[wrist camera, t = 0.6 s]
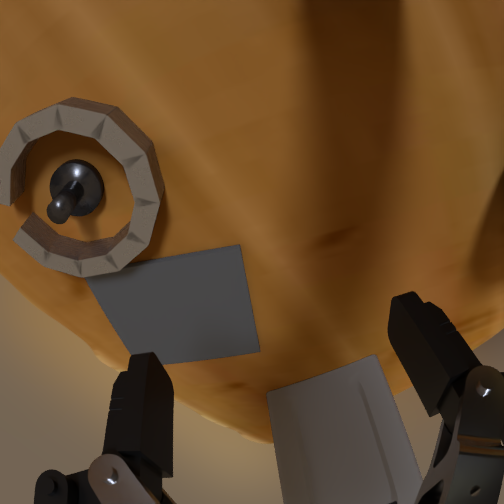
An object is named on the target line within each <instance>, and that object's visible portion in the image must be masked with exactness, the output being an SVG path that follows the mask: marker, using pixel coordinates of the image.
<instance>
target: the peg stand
mask: <svg viewBox="0 0 504 504" xmlns="http://www.w3.org/2000/svg"><path fill="white" fill-rule="evenodd" d="M103 192H104V184H103V180H102V177H101V175H100V173H99V172H98V170H97V169H96V168H95V167H94V166H93V165H91V164H90V163H88V162H86V161H83V160H78V159H75V160H69V161H67V162H65V163H63V164H62V165H61V166H60V167H59V168H58V169H57V170H56V171H55V172H54V174H53V175H52V177H51V181H50V193H51V196H52V199H53V200H52V202H51V203H50V204H49V205H48V207H47V215H48V217H49V219H50V220H51V221H52V222H54V223H56V224H63V223H65V222H66V221H67V219H68V218H69V216H70V215H73V216H84V215H87V214H89V213H91V212H92V211H93V210H94V209H95V208H96V207H97V205H98V204H99V202H100V200H101V199H102V196H103Z"/></svg>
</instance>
